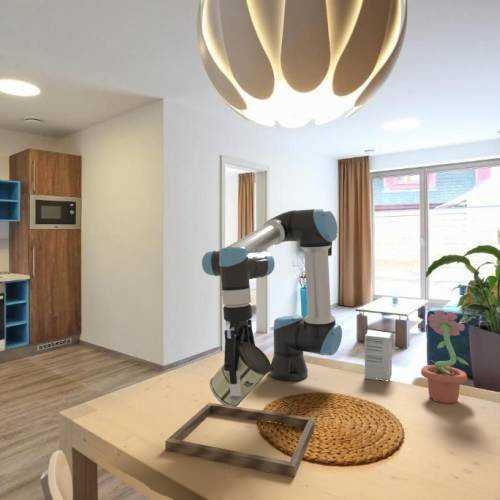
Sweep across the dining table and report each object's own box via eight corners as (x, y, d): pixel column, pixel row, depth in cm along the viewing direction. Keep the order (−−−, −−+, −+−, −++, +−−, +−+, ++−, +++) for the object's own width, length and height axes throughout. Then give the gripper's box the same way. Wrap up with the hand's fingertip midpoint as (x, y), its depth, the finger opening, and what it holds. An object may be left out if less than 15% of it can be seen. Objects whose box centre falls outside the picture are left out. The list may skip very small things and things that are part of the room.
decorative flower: (476, 400, 128) (477, 309, 128) (463, 412, 119) (463, 315, 118) (430, 388, 139) (430, 304, 139) (414, 399, 129) (414, 309, 129)
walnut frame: (165, 450, 97) (165, 440, 97) (209, 410, 120) (209, 402, 120) (294, 477, 86) (294, 466, 86) (314, 427, 109) (314, 418, 109)
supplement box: (368, 371, 158) (368, 330, 157) (392, 374, 154) (392, 332, 153) (364, 378, 149) (364, 335, 149) (389, 382, 145) (389, 337, 145)
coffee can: (226, 374, 112) (255, 341, 109) (245, 404, 107) (277, 370, 103) (202, 377, 104) (233, 341, 100) (222, 410, 99) (256, 373, 95)
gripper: (239, 298, 115) (245, 372, 115) (205, 313, 94) (212, 404, 94) (263, 297, 112) (269, 373, 113) (233, 312, 91) (241, 406, 92)
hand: (243, 387), depth 103 cm, fingers closed on coffee can, 10 cm apart
